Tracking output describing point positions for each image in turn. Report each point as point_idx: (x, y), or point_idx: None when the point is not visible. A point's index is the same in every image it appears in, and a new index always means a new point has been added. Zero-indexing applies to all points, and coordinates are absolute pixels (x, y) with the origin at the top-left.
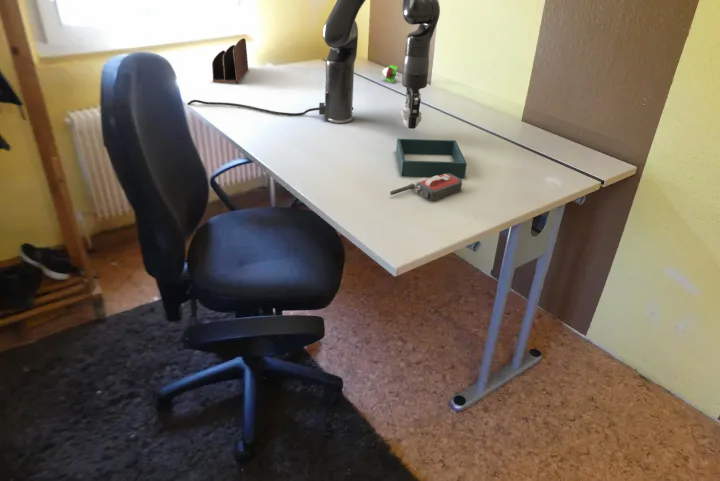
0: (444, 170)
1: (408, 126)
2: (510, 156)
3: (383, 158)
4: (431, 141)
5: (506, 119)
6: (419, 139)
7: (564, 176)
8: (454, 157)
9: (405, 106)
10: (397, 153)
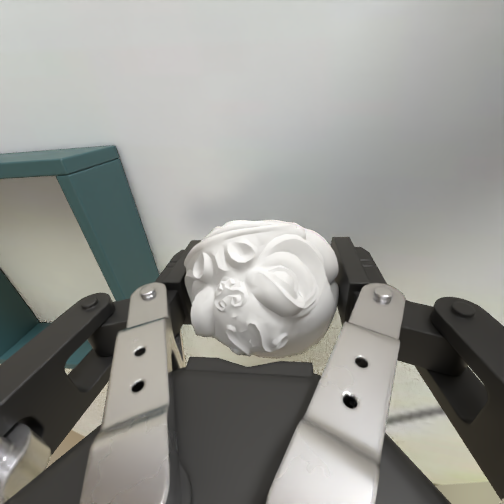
0: None
1: (192, 242)
2: None
3: (19, 74)
4: None
5: (453, 470)
6: (107, 270)
7: None
8: None
9: (271, 298)
10: (45, 152)
